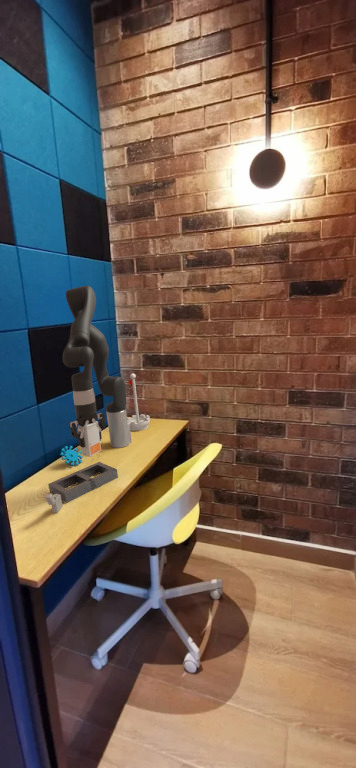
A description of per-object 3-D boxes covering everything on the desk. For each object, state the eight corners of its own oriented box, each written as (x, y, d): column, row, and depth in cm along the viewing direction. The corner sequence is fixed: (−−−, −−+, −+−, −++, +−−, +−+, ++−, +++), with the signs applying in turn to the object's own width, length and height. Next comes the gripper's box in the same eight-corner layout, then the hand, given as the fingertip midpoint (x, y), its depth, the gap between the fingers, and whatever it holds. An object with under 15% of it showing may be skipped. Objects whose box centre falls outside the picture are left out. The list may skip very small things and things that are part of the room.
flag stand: (155, 425, 191) (150, 372, 185) (137, 433, 182) (131, 376, 176) (139, 422, 200) (133, 370, 194) (121, 429, 191) (115, 375, 184)
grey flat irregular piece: (57, 506, 118) (54, 484, 117) (62, 505, 118) (59, 484, 116) (48, 518, 111) (44, 495, 110) (53, 518, 111) (49, 495, 110)
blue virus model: (69, 467, 144) (57, 447, 147) (63, 475, 147) (51, 456, 150) (89, 459, 154) (77, 441, 157) (82, 467, 156) (71, 449, 159)
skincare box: (90, 457, 129) (85, 426, 126) (82, 455, 131) (77, 425, 129) (102, 450, 134) (98, 421, 131) (94, 449, 136) (90, 420, 134)
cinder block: (100, 469, 143) (99, 461, 142) (118, 477, 135) (117, 469, 134) (49, 492, 128) (48, 483, 127) (66, 503, 120) (65, 493, 119)
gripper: (95, 395, 136) (101, 436, 139) (61, 404, 126) (68, 448, 129) (106, 397, 131) (112, 439, 134) (72, 407, 121) (79, 452, 124)
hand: (90, 443), depth 132 cm, fingers closed on skincare box, 6 cm apart
